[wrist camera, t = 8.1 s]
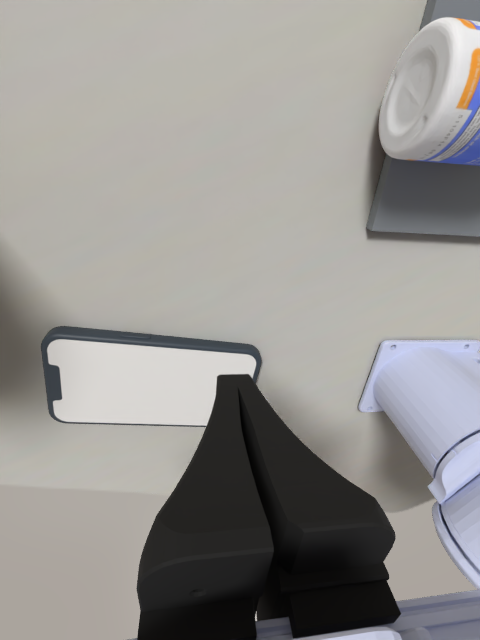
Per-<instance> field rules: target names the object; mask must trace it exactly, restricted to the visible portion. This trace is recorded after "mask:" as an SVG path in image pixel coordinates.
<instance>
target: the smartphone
mask: <svg viewBox="0 0 480 640" xmlns="http://www.w3.org/2000/svg"><path fill="white" fill-rule="evenodd" d="M41 351H42V359H43V368H44V376H45V384H46V393H47V401H48V409H49V414H50V415H51V417H52V418H53V419H55V420H56V421H59V422H62V423H73V424H112V425H151V426H190V427H207V424H208V421H209V418H210V415H211V412H212V408H213V405H214V401H215V397H216V384H217V376H219V375H222V374H249V375H250V376H251V377H252V379H253V381H254V382H255V383H256V380H257V376H258V373H259V369H260V366H261V356H260V353H259V351H258V349H257V348H256V347H254V346H253V345H250V344H242V343H232V342H222V341H212V340H202V339H192V338H183V337H173V336H162V335H152V334H142V333H132V332H122V331H111V330H100V329H89V328H78V327H67V326H60V327H56V328H53V329H52V330H50V331H49V332H48V334H47V335H46V336H45V338H44V339H43V341H42V344H41Z"/></svg>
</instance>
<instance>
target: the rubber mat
mask: <svg viewBox="0 0 480 640" xmlns="http://www.w3.org/2000/svg"><path fill="white" fill-rule="evenodd" d="M445 17H451V18H460V19H466V20H472V21H478V22H480V0H428V1H427V5H426V8H425V12H424V16H423V20H422V23H421V27H420V30H421V29H422V28H424V27H425V26H426V25H428V24H429V23H431V22H433V21H434V20H437V19H440V18H445ZM366 228H367V229H369V230H371V231H383V232H402V233H421V234H439V235H458V236H477V237H480V166H476V165H464V164H450V163H438V162H425V161H411V160H402V159H396V158H392V157H390V156H389V155H388V154H387V153H386V156H385V160H384V163H383V167H382V171H381V174H380V178H379V182H378V185H377V189H376V193H375V197H374V200H373V204H372V208H371V211H370V215H369V219H368V222H367V226H366Z"/></svg>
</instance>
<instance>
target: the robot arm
mask: <svg viewBox="0 0 480 640" xmlns="http://www.w3.org/2000/svg"><path fill="white" fill-rule="evenodd" d="M392 345H393V346H392ZM391 346H392V347H391ZM479 349H480V342H479V341H478V340H386V341H384V342H382V343H381V345H380V347H379V350H378V353H377V356H376V358H375V361H374V364H373V367H372V370H371V372H370V375H369V378H368V381H367V384H366V386H365V389H364V392H363V395H362V398H361V400H360V403H359V406H358V408H359V410H360V411H361V412H379V411H385V412H386V414H387V415H388V417H389V418H390V419H391V421H392V422H393V424H394V425H395V426H396V428H397V429H398V431H399V432H400V433H401V435H402V436H403V438H404V439H405V440H406V442H407V443H408V445H409V446H410V447H411V449H412V450H413V452H414V453H415V454H416V456H417V457H418V459H419V460H420V461H421V463H422V464H423V466H424V467H425V468H426V470H427V471H428V472H429V474H430V475H431V477H432V478H433V479H434V480H433V481H432V482H431V483H430V484H429V485H428V488H429V490H430V491H431V493H432V494H433V496H434V497H435V499H436V500H437V502H436V503H434V505H433V507H432V516H433V521H434V524H435V528H436V531H437V534H438V536H439V539H440V541H441V543H442V545H443V547H444V548H445V550H446V552H447V553H448V555H449V556H450V558H451V559H452V561H453V562H454V563H455V565H456V566H457V567H458V569H459V570H460V571H461V572H462V573H463V575H464V576H465V577H466V578H467V579H468V580H469V581H470V582H471V583H472V584H473V585H474V586H475V587H476V588H477V589H478V590H472V591H465V592H458V593H451V594H444V595H437V596H430V597H424V598H417V599H410V600H402V601H395V599H394V597H393V594H392V592H391V590H390V587H389V585H388V583H387V580H388V579H389V574H388V572H387V569H386V567H385V565H384V563H383V561H384V560H385V558H386V556H387V555H388V553H389V551H390V550H391V548H392V546H393V543H394V541H395V532H394V530H393V528H392V526H391V524H390V522H389V520H388V518H387V517H386V515H385V513H384V511H383V510H382V508H381V507H380V505H379V504H378V502H377V500H376V499H375V498H374V497H373V496H371V495H370V494H368V493H366V492H365V491H363V490H362V489H360V488H359V487H357V486H356V485H354V484H353V483H351V482H350V481H348V480H347V479H345V478H344V477H343V476H341V475H340V474H339V473H337V472H336V471H335V470H333V469H332V468H331V467H329V466H328V465H327V464H326V463H325V462H323V461H322V460H321V459H320V458H319V457H318V456H316V455H315V454H314V453H313V452H312V451H311V450H310V449H309V448H307V447H306V446H305V445H304V444H303V443H302V442H301V441H300V440H299V439H298V438H297V437H296V436H295V435H294V434H293V432H292V431H291V430H290V429H289V428H288V427H287V426H286V425H285V423H284V422H283V421H282V420H281V419H280V418H279V416H278V415H277V414H276V413H275V411H274V410H273V409H272V407H271V406H270V405H269V403H268V402H267V401H266V399H265V398H264V396H263V395H262V393H261V392H260V390H259V389H258V387H257V386H256V384H255V382H254V381H253V379H252V377H251V376H250V375H249V374H222V375H219V376H217V384H216V397H215V401H214V405H213V408H212V412H211V415H210V418H209V421H208V424H207V427H206V429H205V432H204V434H203V437H202V439H201V441H200V443H199V446H198V448H197V450H196V452H195V454H194V456H193V458H192V460H191V462H190V464H189V466H188V467H187V469H186V471H185V473H184V474H183V476H182V478H181V479H180V481H179V483H178V484H177V486H176V488H175V489H174V491H173V492H172V494H171V495H170V497H169V498H168V500H167V501H166V503H165V504H164V506H163V507H162V508H161V510H160V511H159V513H158V514H157V516H156V518H155V521H154V523H153V525H152V528H151V530H150V533H149V535H148V538H147V540H146V543H145V546H144V549H143V552H142V555H141V560H140V564H139V572H138V581H137V593H138V599H139V604H140V610H141V613H140V621H139V629H138V638H135V639H128V640H480V353H478V351H479ZM256 611H257V621H255V614H256Z"/></svg>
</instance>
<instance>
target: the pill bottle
mask: <svg viewBox="0 0 480 640" xmlns="http://www.w3.org/2000/svg"><path fill="white" fill-rule="evenodd" d="M379 137H380V141H381V145H382V147H383V149H384V151H385V152H386V153H387V154H388V155H389V156H390V157H392V158H396V159H402V160H411V161H425V162H438V163H450V164H464V165H476V166H480V22H478V21H472V20H466V19H460V18H451V17H445V18H440V19H437V20H434V21H433V22H431V23H429V24H428V25H426V26H425V27H424V28H422V29H421V30H420V31H419V32H418V33H417V34H416V36H415V37H414V38H413V39H412V40H411V42H410V43H409V44H408V46H407V47H406V49H405V50H404V52H403V54H402V55H401V57H400V59H399V61H398V62H397V65H396V67H395V69H394V71H393V73H392V75H391V77H390V80H389V82H388V85H387V88H386V91H385V94H384V97H383V101H382V105H381V109H380V115H379Z"/></svg>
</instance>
